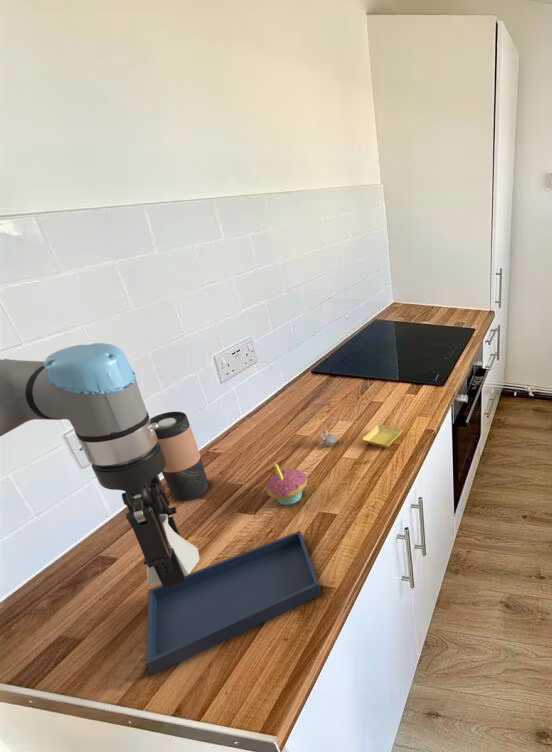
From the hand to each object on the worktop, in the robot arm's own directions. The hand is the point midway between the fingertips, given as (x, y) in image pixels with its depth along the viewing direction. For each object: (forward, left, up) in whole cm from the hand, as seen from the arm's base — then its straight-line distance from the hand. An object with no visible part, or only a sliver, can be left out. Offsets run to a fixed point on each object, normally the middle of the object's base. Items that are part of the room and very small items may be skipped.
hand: (174, 565), depth 70 cm
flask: (0, 0, 0) cm, 0 cm away
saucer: (+47, +33, -13) cm, 59 cm away
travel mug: (+1, +37, -13) cm, 40 cm away
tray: (+7, 0, -13) cm, 14 cm away
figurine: (+33, +39, -13) cm, 53 cm away
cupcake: (+20, +22, -13) cm, 32 cm away
